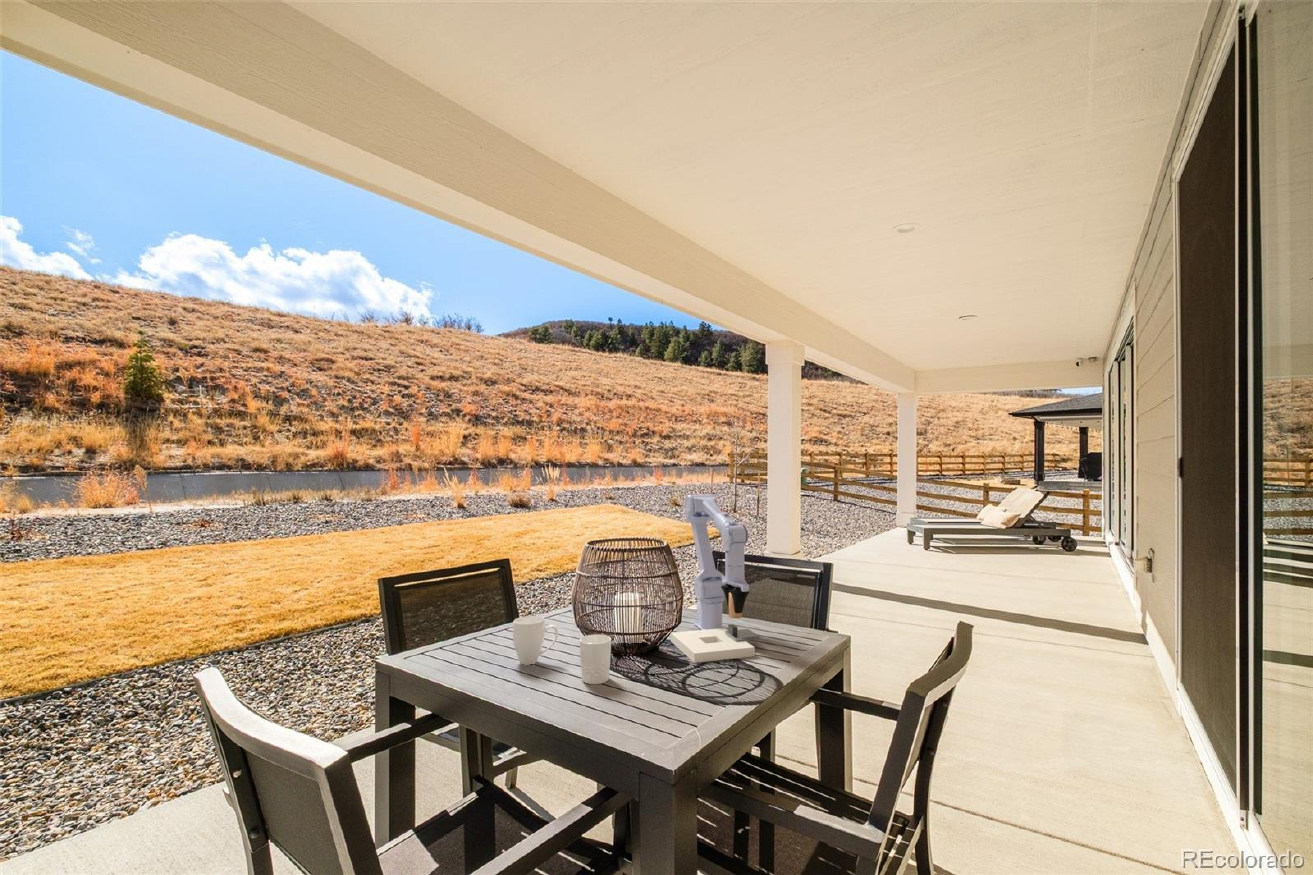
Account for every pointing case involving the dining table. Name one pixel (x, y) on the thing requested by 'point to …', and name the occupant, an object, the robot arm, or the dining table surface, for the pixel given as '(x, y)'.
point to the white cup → (595, 658)
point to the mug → (530, 638)
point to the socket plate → (711, 645)
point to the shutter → (740, 634)
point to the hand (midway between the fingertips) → (735, 611)
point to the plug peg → (731, 608)
